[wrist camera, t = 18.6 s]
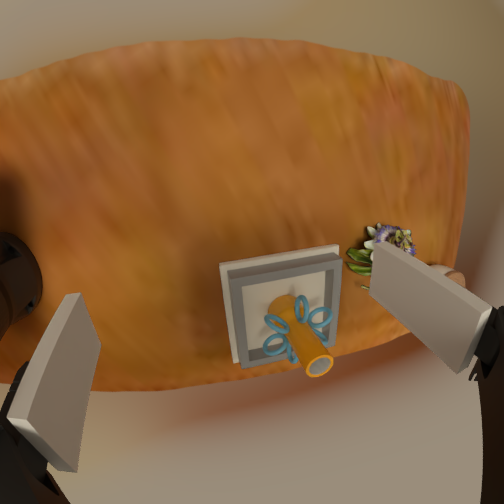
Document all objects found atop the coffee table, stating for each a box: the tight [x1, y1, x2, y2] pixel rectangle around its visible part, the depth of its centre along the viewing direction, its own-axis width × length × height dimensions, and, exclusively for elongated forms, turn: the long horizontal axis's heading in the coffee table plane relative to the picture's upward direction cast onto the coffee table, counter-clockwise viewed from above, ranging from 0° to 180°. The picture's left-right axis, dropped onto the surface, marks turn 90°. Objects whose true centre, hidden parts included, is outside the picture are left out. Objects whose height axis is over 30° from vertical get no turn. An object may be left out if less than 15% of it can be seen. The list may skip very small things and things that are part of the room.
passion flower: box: [346, 223, 416, 290], centre depth 48 cm, size 11×11×12 cm
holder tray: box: [219, 244, 343, 369], centre depth 49 cm, size 20×20×4 cm
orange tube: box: [263, 295, 333, 377], centre depth 43 cm, size 12×10×15 cm
